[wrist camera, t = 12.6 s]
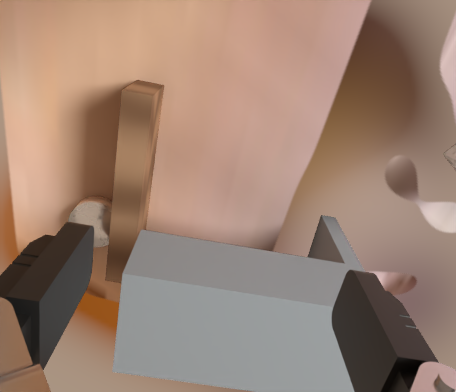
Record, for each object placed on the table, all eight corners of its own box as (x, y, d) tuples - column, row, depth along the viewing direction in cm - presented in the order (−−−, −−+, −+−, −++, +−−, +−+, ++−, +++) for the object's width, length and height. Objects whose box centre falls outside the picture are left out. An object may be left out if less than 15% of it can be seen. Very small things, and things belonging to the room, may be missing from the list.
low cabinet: (159, 186, 39) (122, 273, 26) (335, 217, 41) (389, 315, 27) (148, 267, 43) (111, 381, 29) (308, 293, 45) (345, 413, 31)
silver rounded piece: (70, 196, 40) (62, 205, 38) (118, 193, 40) (113, 202, 38) (81, 238, 42) (74, 248, 40) (126, 236, 42) (122, 245, 40)
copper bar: (138, 79, 35) (121, 89, 30) (164, 84, 35) (152, 96, 30) (121, 247, 42) (105, 280, 37) (143, 250, 43) (130, 284, 37)
